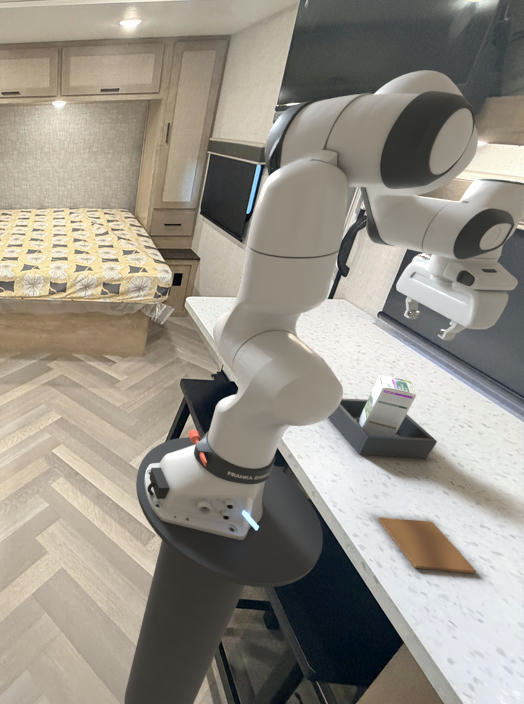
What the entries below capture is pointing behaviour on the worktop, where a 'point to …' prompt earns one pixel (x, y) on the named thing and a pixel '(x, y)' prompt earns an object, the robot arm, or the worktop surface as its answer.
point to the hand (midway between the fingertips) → (426, 327)
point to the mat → (425, 545)
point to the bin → (407, 445)
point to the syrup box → (387, 406)
